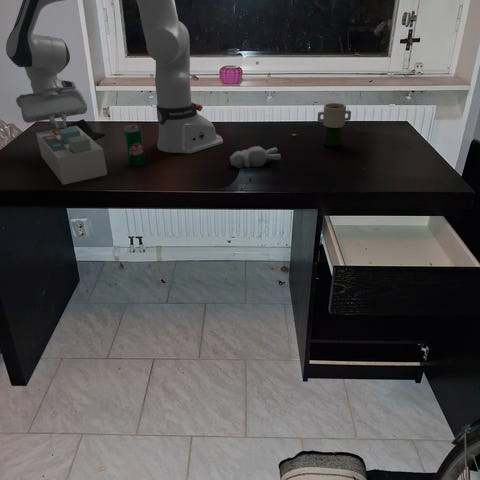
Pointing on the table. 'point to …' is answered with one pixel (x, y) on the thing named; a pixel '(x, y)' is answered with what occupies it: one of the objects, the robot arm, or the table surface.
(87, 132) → the handheld gaming console
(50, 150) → the keypad
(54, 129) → the terracotta key
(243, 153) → the bunny figurine
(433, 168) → the table surface
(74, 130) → the teal key
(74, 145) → the sage green key
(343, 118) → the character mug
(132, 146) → the soda can
